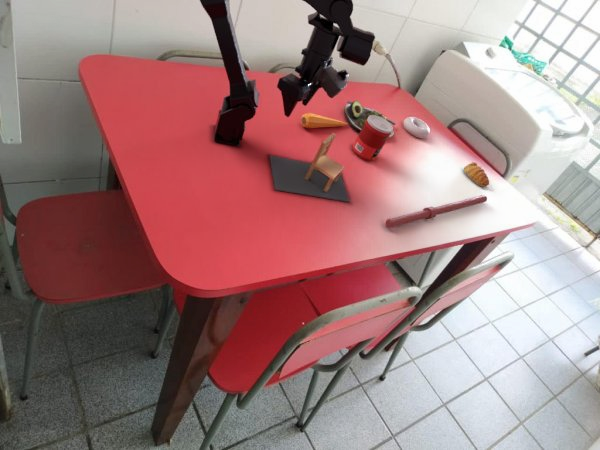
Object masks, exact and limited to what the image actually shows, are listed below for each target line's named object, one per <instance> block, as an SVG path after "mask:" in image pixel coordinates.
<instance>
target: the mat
mask: <svg viewBox="0 0 600 450" xmlns="http://www.w3.org/2000/svg"><path fill="white" fill-rule="evenodd" d="M268 158H269V163H270V169H271V175H272V182H273V187H274V191H277V192H284V193H291V194H294V195H295V194H296V195H303V196H308V197H315V198H321V199H326V200H332V201H337V202H344V203H350V202H351V201H350V199H349V195H348V192H347V189H346V186H345V183H344V180H343V177H342V173H341V174H340V176H339V177H338V179H337V181H336V182H334V181H333V182H332V184H331V186H330V187H329V189H328V191H327V192H325V191H324V188H325V186H326V185H327V183H328V181H329V179H330V177H328V176H326V175H325V174H323V173H322V172H320V171H319V170H318V171H317V170H315V168H314V170H313V172H312V174H311V176H310V178H309V179H308V180H307V179H306V178H305V177H306V175H307V173H308V170H309V168H310V166H311V164H312V162H308V161H307V162H306V161H303V160H297V159H291V158H287V157H281V156H277V155H271V154H269V155H268Z"/></svg>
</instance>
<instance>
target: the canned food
mask: <svg viewBox="0 0 600 450" xmlns="http://www.w3.org/2000/svg"><path fill="white" fill-rule="evenodd" d="M393 130H394V127H393V125H391V124H390V123H389V122H388V121H387V120H385V119H384V118H382V117H379V116H376V115H370V116H369V117H368V118H367V120H366V122H365V124H364V126H363V127H362V129H361V131H360V133H358V135H357V137H356V138H355V140H354V142H353V144H352V151H353V153H354V154H355V155H356V156H357V157H358V158H359V159H361V160H363V161H367V162H373V161H374V160H375V159H377V157H378V156H379V154H380V152H381V151H382V149H383V147H384V146H385V144H386V143H387V141H388V140H389V138H390V137H389V136H390V134H391V133H392V131H393ZM393 132H394V131H393Z"/></svg>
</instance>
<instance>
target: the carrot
mask: <svg viewBox="0 0 600 450" xmlns="http://www.w3.org/2000/svg"><path fill="white" fill-rule="evenodd" d="M300 124H301V126H302V127H303V128H305V129H316V128H319V129H320V128H332V127H344V126H350V124H348V122H344V121H341V120H338V119H335V118H330V117H328V116H323V115H319V114H316V113H313V112H308V113H304V114H302V116H301V118H300Z"/></svg>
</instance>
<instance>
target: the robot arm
mask: <svg viewBox="0 0 600 450" xmlns="http://www.w3.org/2000/svg"><path fill="white" fill-rule="evenodd" d="M302 1H303V2H305V3H307V4H308V5H309V6H310V7H311V8H313V10H314V11H316V12H313V13H310V14H308V15H307V24H308V25H310V26H313V28H312V31H311V34H310V37H309V39H308V42H307V45H306V47H305V48H302V50H301V53H300V54H301V55H303V56H302V58H301V61H300V63H299V65H296V66H295V69H294V72H296V73H297V74H298V76H297V75H295V74H294V73H292V72H291V73H288V74H286V75H284V76H281V77H280V78H279V79H278V82H277V84H276V88H277V89H278V90H279V91H280V94H281V99H282V106H283V114H284V116H285V117H286V118H290V116H291V115H292V113H293V112H294V109H296V107H297V105H298V103H300V102H301V104H302V105H303V106H304V107H306V106H308V104H309V103H310V102H311V100H312V99H313V97H314V96H315V95H316V94H317V92H318V91H319V89H323V90H324V92H325V93H326V95H327V97H328V98H330V99H333V98H335V97H336V96H337V95H339V94H340V93H341V92H342V91H343V90H344V89H345V88H346V87H347V85H348V83H349V82H348V79H349V75H350V73H349V72H348V71H347V70H346V69H340V70H338V69H337V68H334V67H333V66H332V65H333V63H334V57H333V56H332V55H333V53H334V50H335V48H336V52H338V54H339V55H338V56H339V58H340V59H343V60H346V61H348V62H351V63H354V64H357V65H359V66H362V67H364V66H365V65H366V64H367V63H368V62H369V60H370V57H371V53H372V49H373V46H374V41H375V39H376V36H375V34H374V32H372V31H369V30H364V29H361V28H359V27H356V26H354V23H353V20H352V18H351V16H352V14H353V11H354V3H353V0H302ZM199 2H200V4H201V6H202V8H203V9H204V11H205V12H206V14H207V15H208V17H209V19H210V20H211V24H212V26H213V31H214V35H215V37H216V41H217V44H218V48H219V52H220V56H221V58H222V62H223V66H224V69H225V73H226V76H227V79H228V83H229V84H228V85H229V94H228V95H226V96H224V97H223V101H222V105H221V109H219V110H218V114H217V118H216V121H215V124H214V125H213V141H214V142H216V143H220V144H225V145H230V146H235V147H240V146H241V141H243V137H244V134H245V131H246V122H247V121H250V120H251V119H253V118H254V117H255V115H256V114H257V109H258V108H259V99H260V92H259V90H258V87H257V80H256V79H252V80H250V78H249V77H248V75H247V73H246V69H245V65H244V62H243V57H242V53H241V50H240V46H239V42H238V38H237V34H236V30H235V27H234V26H235V25H234V22H233V18H232V13H231V6H230V5H231V4H230V3H231V2H230V0H199ZM336 25H337V26H336Z"/></svg>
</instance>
